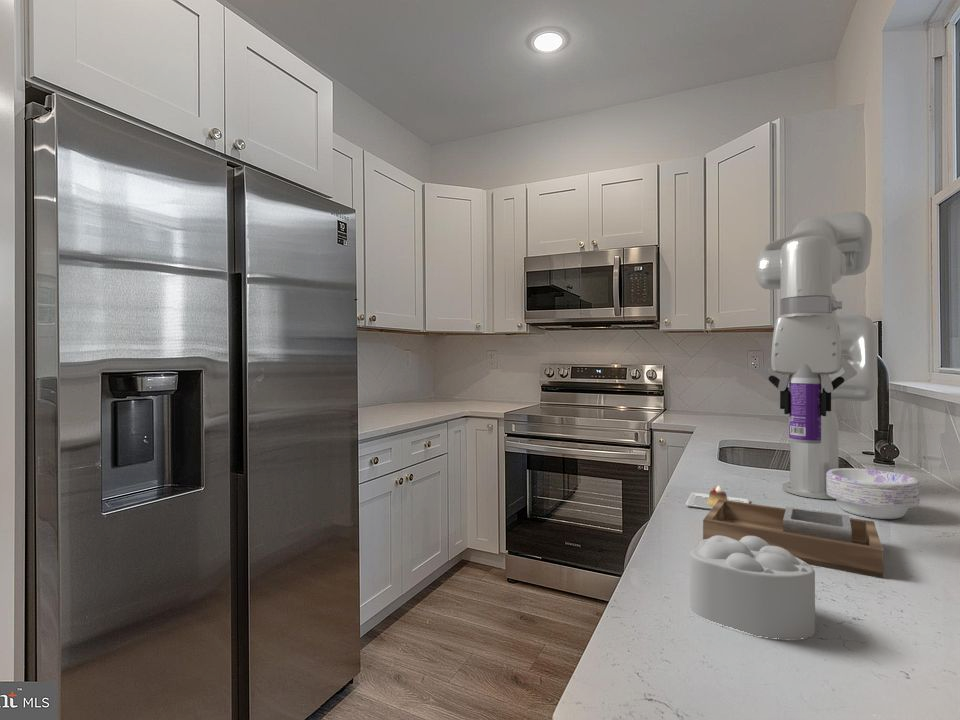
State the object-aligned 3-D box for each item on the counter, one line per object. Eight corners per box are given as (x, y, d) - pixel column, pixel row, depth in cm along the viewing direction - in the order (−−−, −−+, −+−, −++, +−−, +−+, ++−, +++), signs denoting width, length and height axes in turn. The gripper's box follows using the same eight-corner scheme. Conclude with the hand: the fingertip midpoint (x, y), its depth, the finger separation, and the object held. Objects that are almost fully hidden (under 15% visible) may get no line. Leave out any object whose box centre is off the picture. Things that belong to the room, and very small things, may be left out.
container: (826, 444, 84) (826, 354, 85) (795, 442, 85) (795, 354, 86) (814, 440, 89) (814, 355, 89) (784, 439, 90) (785, 355, 90)
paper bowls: (809, 507, 108) (809, 470, 108) (854, 499, 114) (854, 464, 114) (891, 529, 94) (891, 486, 94) (936, 519, 100) (936, 479, 100)
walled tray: (719, 519, 99) (719, 499, 99) (873, 545, 85) (873, 521, 85) (703, 543, 86) (703, 520, 86) (882, 578, 72) (882, 550, 72)
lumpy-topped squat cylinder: (705, 586, 70) (705, 523, 70) (818, 615, 62) (818, 544, 62) (684, 616, 61) (684, 545, 61) (811, 654, 53) (811, 572, 53)
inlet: (786, 531, 90) (786, 506, 90) (849, 542, 84) (849, 515, 84) (783, 547, 82) (783, 519, 82) (851, 559, 77) (851, 530, 77)
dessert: (691, 496, 118) (691, 476, 118) (749, 504, 112) (749, 482, 112) (685, 509, 107) (685, 487, 107) (749, 518, 101) (749, 494, 101)
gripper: (865, 309, 86) (865, 416, 85) (753, 314, 95) (752, 410, 95) (868, 304, 80) (868, 419, 79) (747, 310, 89) (747, 413, 89)
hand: (805, 413), depth 87 cm, fingers closed on container, 4 cm apart
